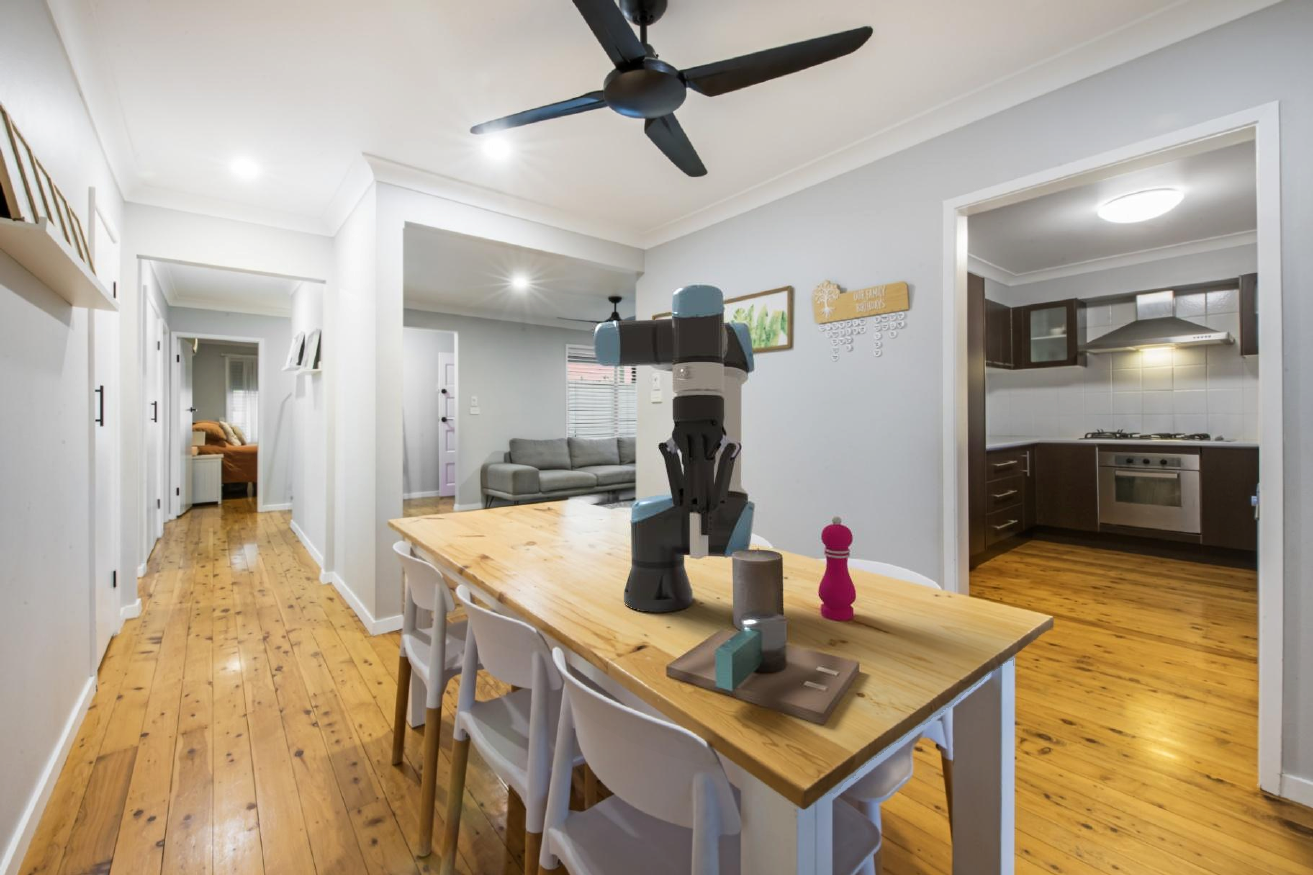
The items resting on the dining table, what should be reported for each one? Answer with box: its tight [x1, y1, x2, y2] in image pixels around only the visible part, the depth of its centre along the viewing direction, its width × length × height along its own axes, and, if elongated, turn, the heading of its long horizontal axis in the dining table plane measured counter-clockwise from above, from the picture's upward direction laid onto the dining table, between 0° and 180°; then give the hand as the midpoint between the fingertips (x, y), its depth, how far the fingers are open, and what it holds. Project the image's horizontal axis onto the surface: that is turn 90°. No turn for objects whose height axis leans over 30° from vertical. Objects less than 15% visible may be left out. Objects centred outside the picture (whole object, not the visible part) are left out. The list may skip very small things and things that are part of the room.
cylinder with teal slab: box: [715, 611, 788, 691], centre depth 77 cm, size 7×16×7 cm, turn 145°
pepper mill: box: [817, 516, 857, 622], centre depth 106 cm, size 7×7×20 cm
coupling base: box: [665, 629, 860, 726], centre depth 81 cm, size 24×18×2 cm
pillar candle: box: [731, 547, 785, 631], centre depth 101 cm, size 10×10×15 cm
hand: (699, 556), depth 76 cm, fingers closed
